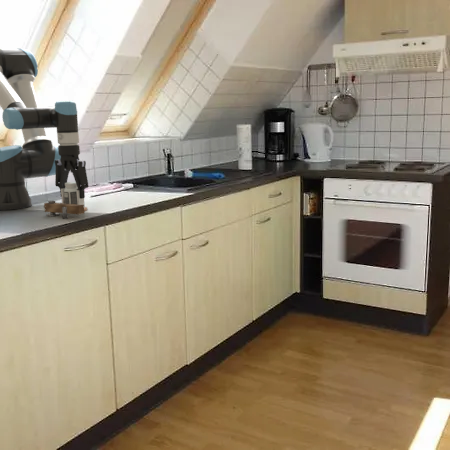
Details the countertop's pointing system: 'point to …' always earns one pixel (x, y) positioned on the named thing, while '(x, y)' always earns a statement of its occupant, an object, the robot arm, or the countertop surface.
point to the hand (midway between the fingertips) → (73, 206)
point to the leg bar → (57, 207)
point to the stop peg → (64, 212)
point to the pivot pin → (53, 214)
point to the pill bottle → (70, 193)
